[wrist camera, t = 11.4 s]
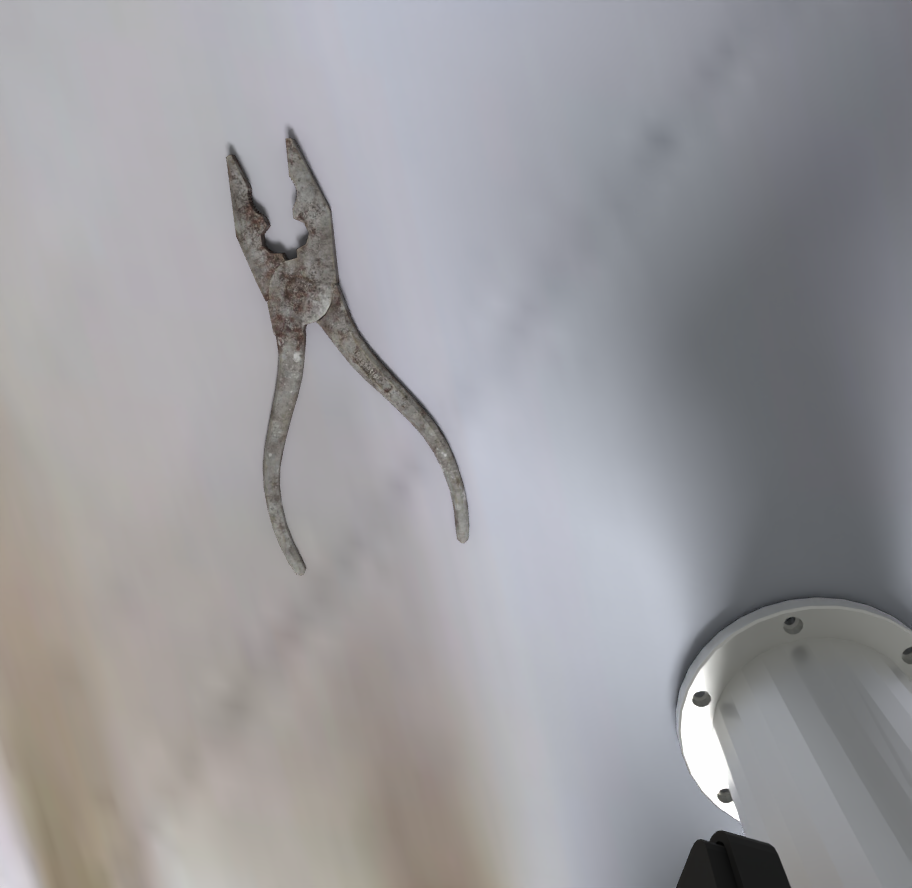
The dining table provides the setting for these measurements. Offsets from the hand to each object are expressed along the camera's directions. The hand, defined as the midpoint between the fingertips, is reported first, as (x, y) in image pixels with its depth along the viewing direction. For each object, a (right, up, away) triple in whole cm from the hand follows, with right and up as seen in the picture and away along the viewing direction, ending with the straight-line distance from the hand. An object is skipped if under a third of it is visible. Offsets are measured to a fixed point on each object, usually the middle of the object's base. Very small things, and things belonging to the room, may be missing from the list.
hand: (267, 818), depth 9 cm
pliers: (-5, +7, +28) cm, 30 cm away
